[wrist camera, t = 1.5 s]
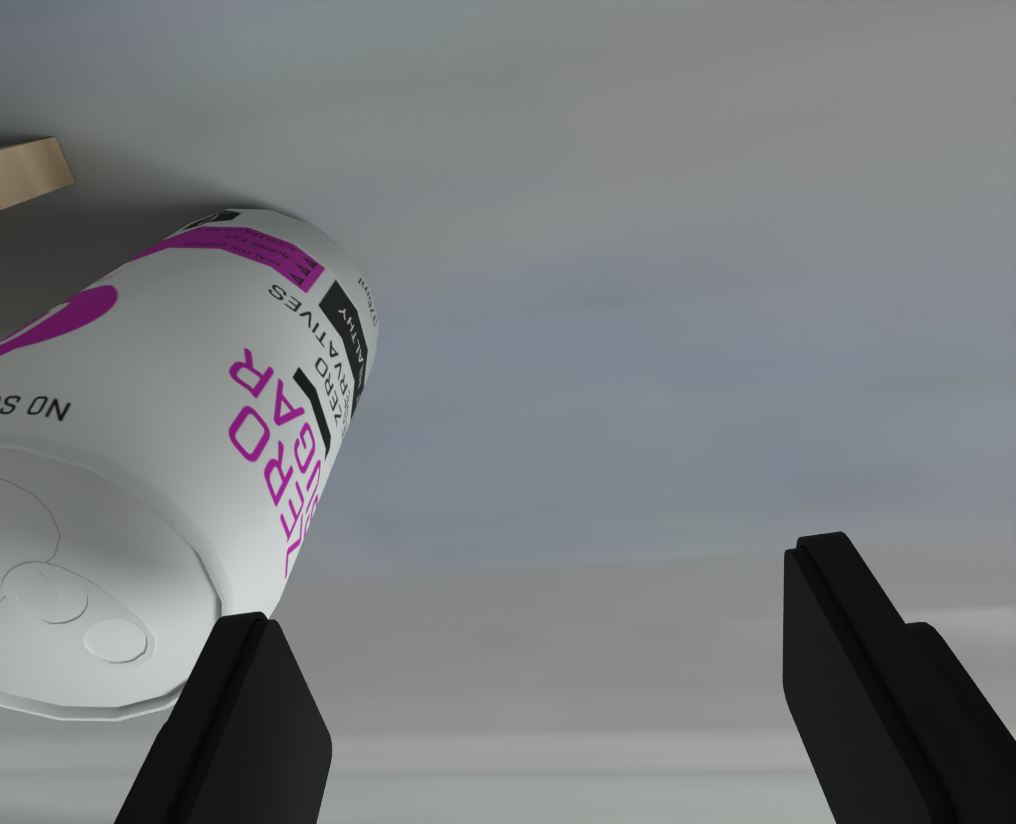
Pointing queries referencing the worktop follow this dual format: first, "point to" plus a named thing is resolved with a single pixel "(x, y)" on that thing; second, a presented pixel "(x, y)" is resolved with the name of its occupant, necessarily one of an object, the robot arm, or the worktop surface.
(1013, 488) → the worktop surface
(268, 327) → the supplement can
